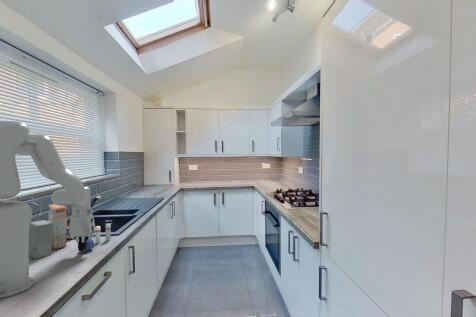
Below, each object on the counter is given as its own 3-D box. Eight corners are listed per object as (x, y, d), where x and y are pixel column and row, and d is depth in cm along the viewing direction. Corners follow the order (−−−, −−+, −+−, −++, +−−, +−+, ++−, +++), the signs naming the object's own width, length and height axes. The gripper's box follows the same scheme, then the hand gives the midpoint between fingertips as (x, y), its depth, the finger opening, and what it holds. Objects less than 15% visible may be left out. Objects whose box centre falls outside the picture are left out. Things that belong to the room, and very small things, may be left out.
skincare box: (26, 255, 113) (26, 222, 113) (44, 250, 120) (44, 219, 119) (35, 259, 109) (35, 225, 109) (53, 254, 116) (53, 221, 115)
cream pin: (98, 244, 129) (98, 227, 129) (94, 244, 129) (94, 227, 129) (101, 242, 132) (101, 226, 131) (96, 242, 131) (96, 226, 131)
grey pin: (109, 241, 133) (109, 225, 133) (104, 241, 133) (104, 225, 133) (111, 239, 136) (111, 223, 136) (106, 239, 136) (106, 223, 135)
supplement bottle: (69, 240, 133) (69, 220, 133) (62, 238, 136) (62, 219, 136) (80, 237, 139) (80, 218, 139) (73, 235, 141) (73, 216, 141)
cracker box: (67, 246, 125) (67, 206, 124) (52, 250, 120) (52, 208, 120) (61, 240, 134) (61, 202, 134) (47, 242, 130) (47, 204, 130)
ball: (89, 241, 117) (96, 236, 123) (77, 241, 117) (84, 236, 123) (90, 252, 118) (96, 247, 124) (77, 252, 118) (85, 247, 124)
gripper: (101, 210, 119) (102, 246, 120) (70, 210, 119) (71, 246, 119) (92, 214, 112) (93, 253, 112) (60, 214, 111) (60, 253, 112)
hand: (82, 249), depth 116 cm, fingers closed
